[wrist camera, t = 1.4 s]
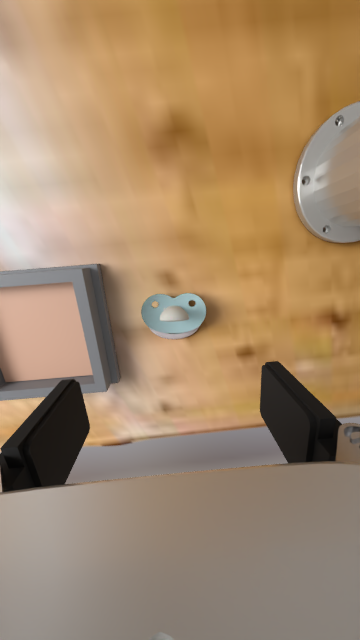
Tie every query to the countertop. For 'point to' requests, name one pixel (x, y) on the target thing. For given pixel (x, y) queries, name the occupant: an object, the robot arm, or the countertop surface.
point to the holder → (54, 331)
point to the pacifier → (174, 315)
